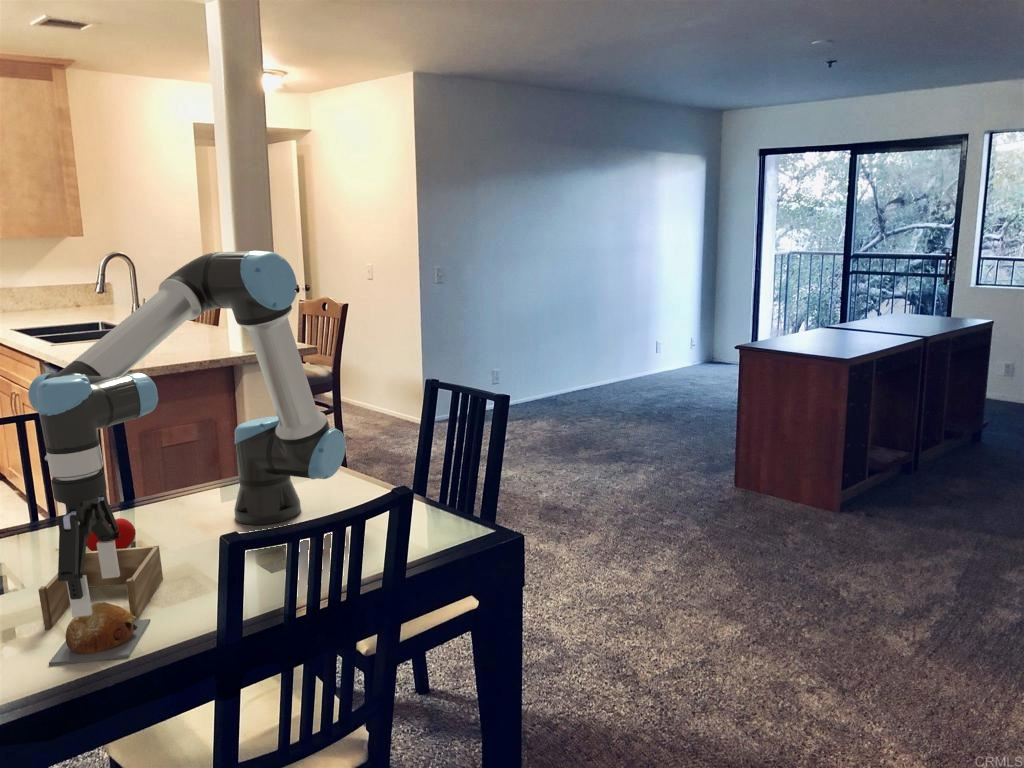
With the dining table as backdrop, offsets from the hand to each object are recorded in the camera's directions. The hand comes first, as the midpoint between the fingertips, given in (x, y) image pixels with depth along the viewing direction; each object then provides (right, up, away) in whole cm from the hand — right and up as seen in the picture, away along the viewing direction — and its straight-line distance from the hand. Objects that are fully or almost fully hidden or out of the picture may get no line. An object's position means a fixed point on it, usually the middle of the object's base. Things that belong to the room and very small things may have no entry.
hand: (97, 595), depth 132 cm
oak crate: (-6, -5, +16) cm, 18 cm away
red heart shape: (-13, -3, +31) cm, 34 cm away
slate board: (0, -8, +1) cm, 8 cm away
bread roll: (0, -8, +1) cm, 8 cm away
